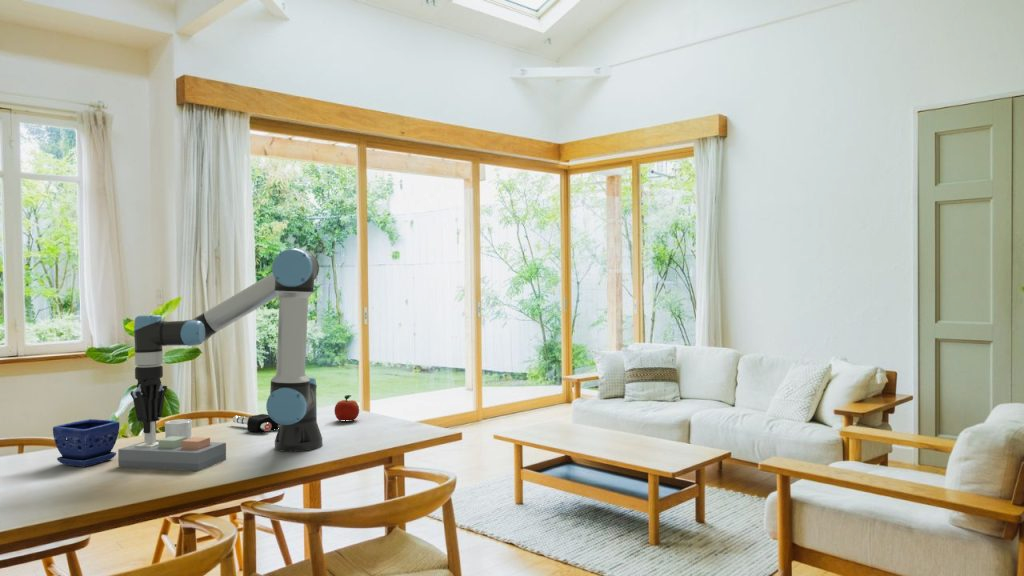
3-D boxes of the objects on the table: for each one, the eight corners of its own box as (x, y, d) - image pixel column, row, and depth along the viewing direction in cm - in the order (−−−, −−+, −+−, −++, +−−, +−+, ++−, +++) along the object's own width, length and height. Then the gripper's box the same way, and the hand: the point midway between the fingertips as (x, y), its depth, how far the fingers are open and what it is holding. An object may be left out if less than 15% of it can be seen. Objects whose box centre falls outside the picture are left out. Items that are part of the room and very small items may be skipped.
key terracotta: (210, 449, 209) (210, 437, 209) (198, 453, 203) (198, 441, 203) (194, 448, 210) (194, 437, 210) (182, 452, 204) (181, 441, 204)
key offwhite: (164, 453, 212) (164, 442, 212) (151, 458, 207) (151, 446, 207) (148, 452, 213) (148, 441, 213) (135, 457, 208) (135, 445, 208)
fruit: (330, 423, 267) (329, 397, 267) (340, 418, 276) (340, 393, 276) (353, 423, 265) (353, 397, 265) (363, 418, 275) (362, 393, 275)
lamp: (262, 420, 247) (220, 414, 261) (262, 435, 247) (220, 428, 261) (287, 415, 256) (245, 409, 270) (287, 429, 256) (245, 423, 270)
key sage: (187, 448, 210) (186, 436, 210) (174, 452, 205) (174, 440, 205) (171, 447, 212) (171, 436, 212) (158, 451, 206) (158, 440, 206)
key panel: (226, 459, 212) (225, 442, 212) (198, 470, 199) (198, 452, 199) (150, 456, 217) (149, 439, 217) (118, 466, 205) (118, 449, 205)
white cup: (181, 455, 218) (180, 424, 218) (159, 454, 219) (159, 423, 219) (197, 449, 225) (197, 419, 225) (176, 449, 227) (175, 418, 227)
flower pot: (122, 458, 215) (121, 420, 215) (83, 469, 202) (82, 429, 202) (90, 455, 219) (90, 418, 219) (50, 466, 207) (50, 426, 207)
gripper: (153, 363, 217) (154, 437, 217) (121, 368, 204) (123, 447, 204) (174, 363, 215) (175, 438, 216) (143, 368, 203) (145, 448, 203)
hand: (150, 442), depth 210 cm, fingers closed
